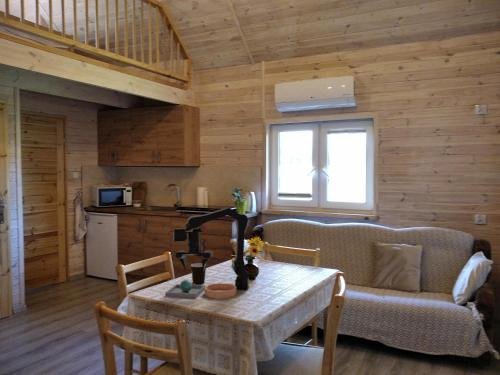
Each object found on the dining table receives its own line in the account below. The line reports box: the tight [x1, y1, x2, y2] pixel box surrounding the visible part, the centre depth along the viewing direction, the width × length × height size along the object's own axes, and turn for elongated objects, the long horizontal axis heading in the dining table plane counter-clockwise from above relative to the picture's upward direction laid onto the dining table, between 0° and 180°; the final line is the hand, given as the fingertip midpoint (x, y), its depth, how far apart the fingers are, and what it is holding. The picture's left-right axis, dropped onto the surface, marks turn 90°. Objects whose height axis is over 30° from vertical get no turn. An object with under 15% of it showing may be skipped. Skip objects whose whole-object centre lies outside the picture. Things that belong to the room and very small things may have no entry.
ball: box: [179, 279, 193, 292], centre depth 219 cm, size 6×6×6 cm
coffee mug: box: [190, 262, 207, 285], centre depth 240 cm, size 12×9×10 cm
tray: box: [164, 283, 206, 299], centre depth 219 cm, size 16×16×2 cm
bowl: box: [204, 282, 238, 299], centre depth 217 cm, size 16×16×3 cm
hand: (194, 270), depth 221 cm, fingers open, 9 cm apart
